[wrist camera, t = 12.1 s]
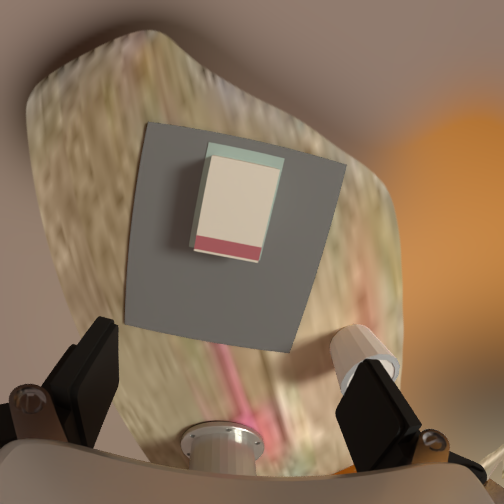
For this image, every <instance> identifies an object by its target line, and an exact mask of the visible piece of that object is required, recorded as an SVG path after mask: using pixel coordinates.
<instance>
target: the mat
mask: <svg viewBox="0 0 504 504" xmlns="http://www.w3.org/2000/svg"><path fill="white" fill-rule="evenodd" d="M212 155H218V156H223V157H228V158H233V159H238V160H243V161H247V162H252V163H257V164H261V165H266V166H270V167H274V168H277V169H279V170H280V173H279V177H278V181H277V186H276V190H275V194H274V198H273V202H272V207H271V211H270V215H269V219H268V223H267V227H266V232H265V236H264V240H263V244H262V249H261V253H260V257H259V261H258V263H255V262H250V261H245V260H239V259H234V258H229V257H223V256H218V255H213V254H208V253H202V252H197V251H194V246H195V240H196V235H197V229H198V224H199V218H200V213H201V208H202V202H203V197H204V192H205V187H206V182H207V177H208V172H209V167H210V162H211V158H212ZM346 166H347V165H346V164H342V163H339V162H336V161H332V160H329V159H325V158H322V157H318V156H315V155H311V154H308V153H304V152H300V151H296V150H292V149H289V148H285V147H281V146H276V145H272V144H268V143H264V142H259V141H255V140H251V139H246V138H241V137H236V136H232V135H227V134H221V133H216V132H211V131H205V130H200V129H194V128H188V127H181V126H175V125H168V124H161V123H154V122H148V125H147V130H146V135H145V140H144V145H143V150H142V156H141V161H140V167H139V173H138V179H137V186H136V193H135V200H134V207H133V215H132V223H131V233H130V242H129V253H128V266H127V281H126V300H125V324H126V325H130V326H134V327H139V328H143V329H148V330H152V331H157V332H161V333H166V334H171V335H176V336H181V337H186V338H191V339H197V340H202V341H208V342H214V343H220V344H226V345H232V346H239V347H246V348H252V349H260V350H267V351H275V352H283V353H290V350H291V347H292V344H293V342H294V339H295V336H296V333H297V330H298V327H299V325H300V322H301V319H302V316H303V313H304V310H305V307H306V304H307V301H308V298H309V295H310V292H311V289H312V285H313V282H314V279H315V276H316V273H317V270H318V266H319V263H320V260H321V257H322V253H323V250H324V247H325V243H326V240H327V236H328V233H329V229H330V226H331V222H332V219H333V215H334V212H335V208H336V204H337V201H338V197H339V193H340V189H341V186H342V182H343V178H344V174H345V170H346Z"/></svg>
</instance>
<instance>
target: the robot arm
mask: <svg viewBox="0 0 504 504" xmlns="http://www.w3.org/2000/svg"><path fill="white" fill-rule="evenodd" d="M118 384H119V360H118V325H116V324H114V320H112V319H108V318H104V317H101V316H99V317H98V318H97V319H96V320H95V321H94V323H93V324H92V325H91V327H90V328H89V329H88V331H87V332H86V333H85V335H84V336H83V338H82V339H81V340H80V342H79V343H78V344H77V345H75V344H72V345H71V346H70V347H69V348H68V349H67V351H66V352H65V353H64V355H63V356H62V358H61V359H60V360H59V362H58V363H57V364H56V366H55V367H54V369H53V370H52V372H51V373H50V374H49V376H48V377H47V379H46V380H45V382H44V383H43V384H42V386H41V387H40V386H38V385H35V384H24V385H20V386H18V387H16V388H14V390H13V391H12V392H11V393H10V396H9V403H6V404H0V504H504V488H503V487H501V486H500V485H499V484H497V483H496V482H494V481H493V480H491V479H489V480H488V481H487V474H486V471H485V470H484V468H483V467H482V466H481V465H480V464H478V463H476V462H474V461H471V460H469V459H466V458H464V457H461V456H459V455H457V454H455V453H453V452H450V451H449V449H450V444H449V441H448V439H447V437H446V436H445V435H444V434H443V433H441V432H439V431H437V430H434V429H426V430H423V431H422V432H420V431H419V428H420V427H421V426H422V424H421V422H420V421H419V419H418V418H417V416H416V415H415V413H414V412H413V410H412V408H411V407H410V406H409V404H408V402H407V401H406V399H405V398H404V396H403V395H402V394H401V392H400V390H399V389H398V387H397V386H396V384H395V383H394V381H393V380H392V378H391V377H390V375H389V374H388V372H387V371H386V369H385V368H384V366H383V365H382V363H381V362H380V361H379V360H378V359H364V360H363V362H360V363H359V365H358V367H357V369H356V371H355V373H354V375H353V377H352V379H351V381H350V383H349V385H348V387H347V389H346V391H345V393H344V395H343V397H342V399H341V401H340V403H339V405H338V407H337V409H336V413H335V414H336V418H337V421H338V424H339V426H340V429H341V431H342V434H343V437H344V439H345V442H346V444H347V447H348V450H349V452H350V455H351V458H352V460H353V463H354V466H355V468H356V471H357V473H349V474H338V475H324V476H301V477H268V476H257V475H256V464H255V461H256V460H257V459H258V458H259V457H260V456H261V455H262V454H263V451H264V441H263V438H262V437H261V435H260V434H259V433H258V432H257V431H255V430H254V429H252V428H250V427H247V426H245V425H242V424H238V423H233V422H221V421H217V422H207V423H202V424H199V425H196V426H194V427H192V428H190V429H188V430H187V431H186V432H185V433H184V434H183V436H182V439H181V449H182V451H183V453H184V454H185V455H186V456H187V457H188V458H189V459H190V461H189V470H188V469H182V468H176V467H170V466H165V465H160V464H155V463H150V462H145V461H140V460H136V459H131V458H127V457H123V456H119V455H115V454H112V453H108V452H104V451H100V450H96V449H93V447H94V445H95V442H96V440H97V437H98V435H99V432H100V429H101V427H102V424H103V422H104V419H105V417H106V414H107V412H108V409H109V407H110V405H111V402H112V400H113V397H114V395H115V393H116V390H117V388H118Z"/></svg>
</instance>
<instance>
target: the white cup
mask: <svg viewBox="0 0 504 504" xmlns="http://www.w3.org/2000/svg"><path fill="white" fill-rule="evenodd" d="M330 354H331V358H332V361H333V365H334V368H335V372H336V375H337V379H338V383H339V386H340V390H341V393H342V394H343V395H344V393H345V391H346V389H347V387H348V385H349V383H350V381H351V379H352V377H353V375H354V373H355V371H356V369H357V367H358V365H359V363H360V362H363V360H364V359H378V360H379V361H380V362H381V363H382V365H383V366H384V368H385V369H386V371H387V372H388V374H389V375H390V377H391V378H392V380H393V381H394V382H395V380H396V378H397V377H398V375H399V368H400V365H399V363H398V360H397V358H396V357H395V356H394V355H393V354H392V353H391V352H390V351H389V350H388V349H387V347H386V346H385V345H384V344H383V343H382V342H381V341H380V340H379V339H378V338H377V337H376V336H375V334H374V333H373V332H372V331H371V330H370V329H369V328H367V327H366V326H364V325H360V324H353V325H349V326H346V327H344V328H343V329H341V330H340V331H338V332H337V333H336V335H335V336H334V337H333V338H332V341H331V343H330Z"/></svg>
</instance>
